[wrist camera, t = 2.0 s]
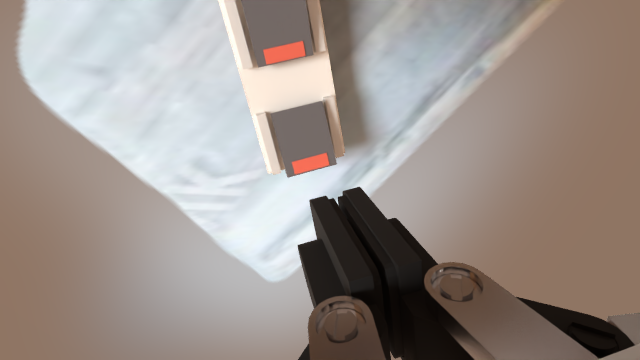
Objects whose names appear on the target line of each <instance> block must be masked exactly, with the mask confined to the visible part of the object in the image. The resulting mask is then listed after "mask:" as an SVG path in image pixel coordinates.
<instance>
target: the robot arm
mask: <svg viewBox="0 0 640 360" xmlns="http://www.w3.org/2000/svg"><path fill="white" fill-rule="evenodd" d="M338 204H339V206H338ZM338 204H337V203H336V201H335V199H334V198H332V199H328V198H327V196H323V197H319V198H315V199H311V200H310V207H311V212H312V217H313V222H314V227H315V231H316V236H317V240H314V241H311V242H307V243H304V244H300V245H298V250H299V255H300V259H301V263H302V267H303V271H304V275H305V279H306V282H307V286H308V289H309V293H310V296H311V300H312V303H313V306H314V310H313V311H312V313H311V315H310V317H309V322H308V336H309V344H308V346H307V347H306V349H305V350H304V351H303V353H302V355H301V356H300V357H299V359H298V360H391V356H390V351H391V353H392V355H393V357H394V358H398V357H401V359H402V360H640V313H634V314H625V315H617V316H616V315H615V316H608V318H607V321H604V320H602V319H599V318H597V317H594V316H591V315H588V314H584V313H579V312H576V311H572V310H568V309H563V308H559V307H555V306H551V305H547V304H543V303H539V302H535V301H531V300H527V299H523V298H519V297H515V296H514V295H512V294H511V293H510V292H508V291H507V290H505V289H504V288H503V287H501V286H500V285H499V284H497V283H496V282H494V281H493V280H492V279H491V278H489V277H488V276H486V275H485V274H484V273H482V272H481V271H479V270H478V269H476V268H474V267H472V266H469V265H466V264H463V263H455V262H448V263H442V264H437V263H436V261H435V260H434V259H433V258H432V257H431V256H430V255H429V254H428V253H427V251H426V250H425V249H424V248H423V247H422V246H421V245H420V244H419V243H418V241H417V240H416V239H415V238H414V237H413V236H412V235H411V234H410V233H409V231H408V230H407V229H406V228H405V227H404V226H403V225H402V224H401V223H400V221H399V220H397V219H396V218H392V219H388V220H387V218H386V217H385V216H384V215H383V214H382V212H381V211H380V210H379V209H378V208H377V207H376V205H375V204H374V203H373V202H372V201H371V200H370V198H369V197H368V196H367V195H366V193H365V192H364V191H363V190H362V189H361V188H360V187H357V188H353V189H349V190H345V191H343V196H340V197H338Z"/></svg>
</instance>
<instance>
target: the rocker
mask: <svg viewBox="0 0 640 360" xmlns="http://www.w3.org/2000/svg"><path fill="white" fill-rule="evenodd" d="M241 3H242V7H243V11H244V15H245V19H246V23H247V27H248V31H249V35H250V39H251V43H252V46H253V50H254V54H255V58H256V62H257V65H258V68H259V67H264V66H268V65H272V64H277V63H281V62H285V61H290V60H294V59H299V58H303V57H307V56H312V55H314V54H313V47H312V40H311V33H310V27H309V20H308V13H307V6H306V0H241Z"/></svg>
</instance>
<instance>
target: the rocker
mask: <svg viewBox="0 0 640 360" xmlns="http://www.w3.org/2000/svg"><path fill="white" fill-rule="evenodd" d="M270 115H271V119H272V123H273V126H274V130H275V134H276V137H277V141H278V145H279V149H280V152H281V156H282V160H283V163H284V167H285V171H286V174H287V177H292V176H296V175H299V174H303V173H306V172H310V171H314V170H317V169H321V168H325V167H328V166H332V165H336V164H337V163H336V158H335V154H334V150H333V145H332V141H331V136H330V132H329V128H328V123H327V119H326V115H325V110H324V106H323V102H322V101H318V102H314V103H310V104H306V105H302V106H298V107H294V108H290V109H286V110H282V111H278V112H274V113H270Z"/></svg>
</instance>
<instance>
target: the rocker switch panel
mask: <svg viewBox="0 0 640 360" xmlns="http://www.w3.org/2000/svg"><path fill="white" fill-rule="evenodd" d="M218 1H219V5H220V8H221V12H222V15H223V19H224V22H225V26H226V29H227V32H228V36H229V39H230V43H231V46H232V50H233V53H234V57H235V60H236V64H237V67H238V70H239V74H240V77H241V81H242V84H243V88H244V91H245V95H246V98H247V102H248V105H249V109H250V112H251V115H252V119H253V122H254V126H255V129H256V133H257V136H258V140H259V143H260V147H261V150H262V154H263V157H264V160H265V164H266V167H267V171H268V174H269V173H273V175H275V174H279V173H281V170H283V169H285V167H284V163H283V160H282V156H281V152H280V149H279V145H278V141H277V137H276V134H275V130H274V126H273V123H272V119H271V115H270V113H274V112H278V111H282V110H286V109H290V108H294V107H298V106H302V105H306V104H310V103H314V102H318V101H322V102H323V106H324V110H325V115H326V119H327V123H328V128H329V132H330V136H331V141H332V145H333V150H334V154H335V157H336V158H338V157H341V156H344V154H343V153H345V148H344V143H343V137H342V131H341V125H340V119H339V113H338V107H337V101H336V95H335V90H334V84H333V78H332V72H331V66H330V60H329V54H328V48H327V42H326V36H325V31H324V25H323V19H322V13H321V7H320V1H319V0H306V6H307V13H308V20H309V27H310V33H311V40H312V47H313V54H314V55H312V56H307V57H303V58H299V59H294V60H290V61H285V62H281V63H277V64H272V65H268V66H264V67H259V68H258V65H257V62H256V58H255V54H254V50H253V46H252V43H251V39H250V35H249V31H248V27H247V23H246V19H245V15H244V11H243V7H242V3H241V0H218Z"/></svg>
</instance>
